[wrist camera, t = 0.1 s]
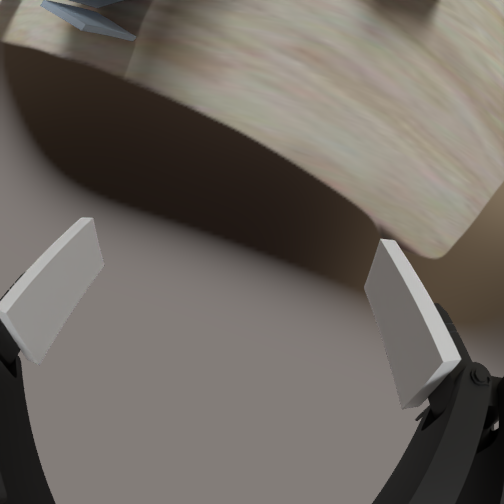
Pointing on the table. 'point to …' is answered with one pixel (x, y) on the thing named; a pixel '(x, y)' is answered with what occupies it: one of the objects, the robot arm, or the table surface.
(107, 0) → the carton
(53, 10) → the right flap
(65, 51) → the table surface
